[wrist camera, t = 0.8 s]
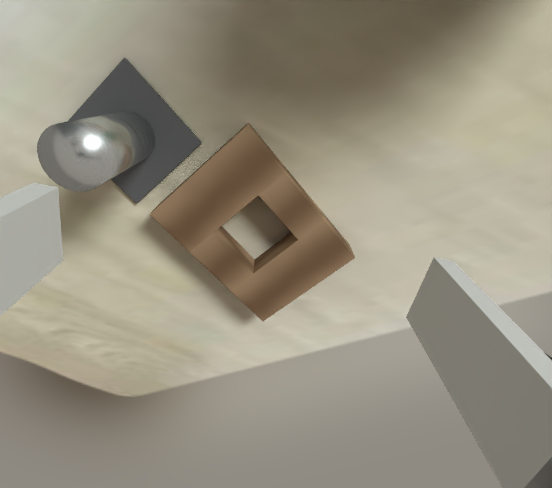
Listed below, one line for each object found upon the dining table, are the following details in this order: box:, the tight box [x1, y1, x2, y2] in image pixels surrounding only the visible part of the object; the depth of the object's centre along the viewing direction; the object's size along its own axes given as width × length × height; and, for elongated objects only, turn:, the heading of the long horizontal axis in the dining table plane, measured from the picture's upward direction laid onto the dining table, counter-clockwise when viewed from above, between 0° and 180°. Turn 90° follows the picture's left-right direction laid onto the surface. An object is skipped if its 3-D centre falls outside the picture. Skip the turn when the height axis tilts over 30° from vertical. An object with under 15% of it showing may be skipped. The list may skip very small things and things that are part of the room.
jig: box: [150, 123, 355, 321], centre depth 34 cm, size 16×12×3 cm
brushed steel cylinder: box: [37, 111, 155, 192], centre depth 27 cm, size 4×4×10 cm
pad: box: [68, 58, 202, 203], centre depth 32 cm, size 9×9×1 cm
